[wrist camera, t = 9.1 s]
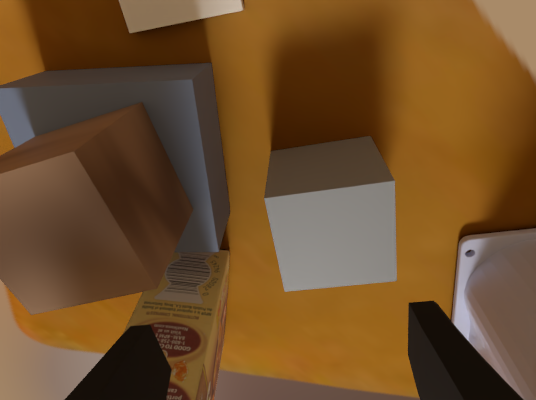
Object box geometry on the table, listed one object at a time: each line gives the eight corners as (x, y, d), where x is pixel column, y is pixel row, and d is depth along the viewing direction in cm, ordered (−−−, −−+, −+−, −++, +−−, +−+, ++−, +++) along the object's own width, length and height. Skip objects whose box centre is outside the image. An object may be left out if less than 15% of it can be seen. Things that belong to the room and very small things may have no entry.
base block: (231, 208, 21) (218, 252, 17) (97, 211, 21) (59, 253, 18) (212, 61, 17) (192, 79, 13) (49, 69, 18) (-11, 88, 14)
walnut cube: (193, 209, 16) (156, 288, 12) (97, 233, 17) (31, 314, 13) (141, 101, 14) (73, 151, 10) (34, 136, 15) (-72, 195, 11)
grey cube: (374, 219, 20) (396, 280, 16) (286, 229, 21) (284, 291, 17) (370, 135, 18) (394, 181, 14) (270, 150, 19) (264, 198, 14)
